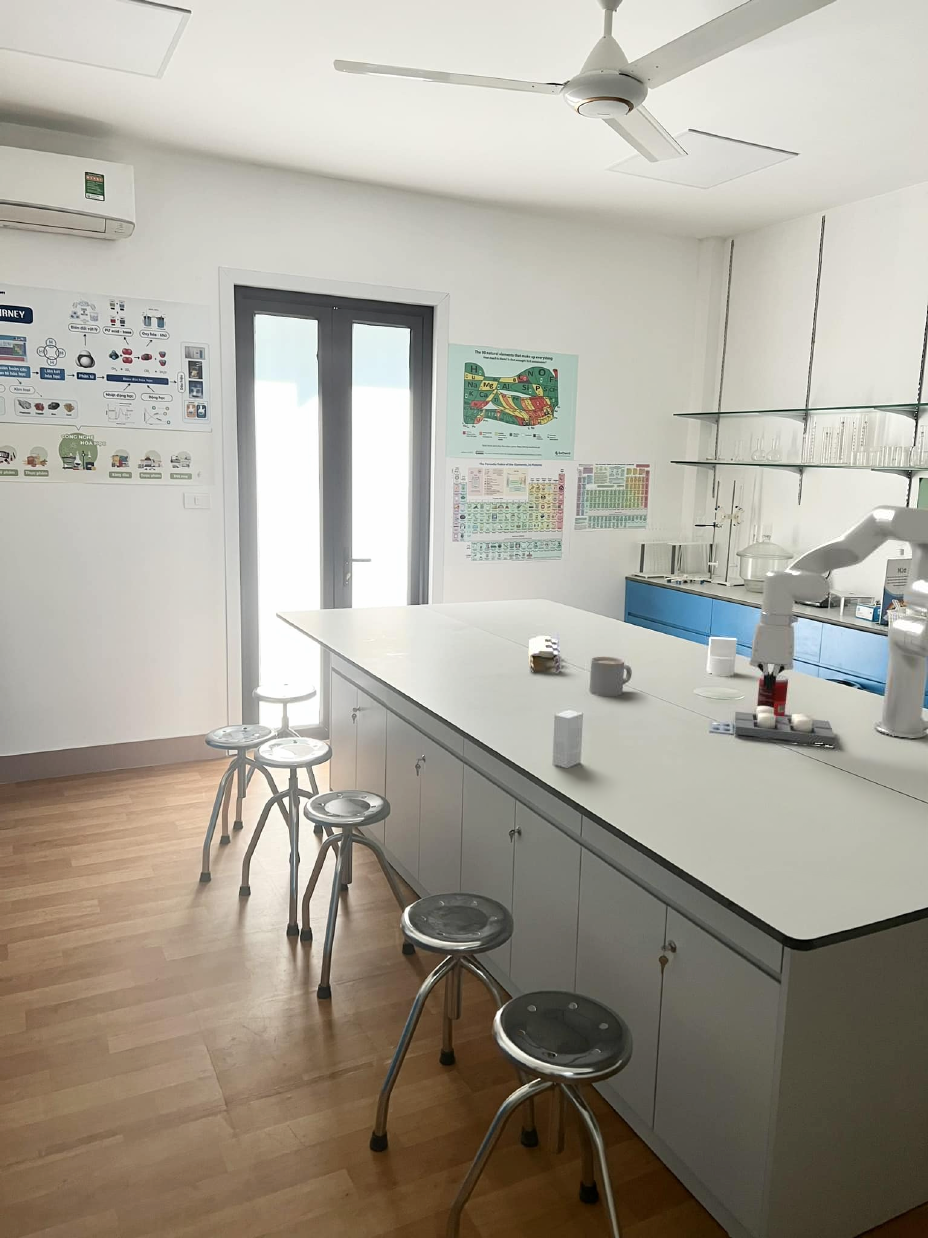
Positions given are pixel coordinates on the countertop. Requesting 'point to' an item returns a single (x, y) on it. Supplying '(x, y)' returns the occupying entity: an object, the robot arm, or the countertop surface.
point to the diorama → (544, 650)
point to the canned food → (774, 695)
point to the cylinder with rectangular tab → (721, 655)
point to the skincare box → (567, 738)
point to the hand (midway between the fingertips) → (768, 689)
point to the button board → (775, 730)
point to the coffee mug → (608, 676)
